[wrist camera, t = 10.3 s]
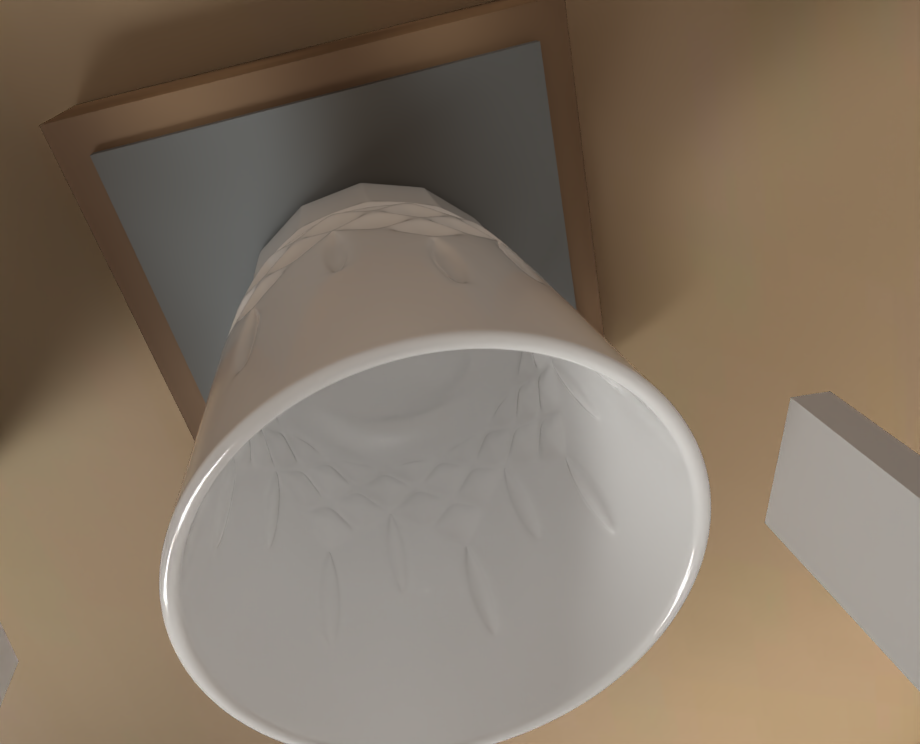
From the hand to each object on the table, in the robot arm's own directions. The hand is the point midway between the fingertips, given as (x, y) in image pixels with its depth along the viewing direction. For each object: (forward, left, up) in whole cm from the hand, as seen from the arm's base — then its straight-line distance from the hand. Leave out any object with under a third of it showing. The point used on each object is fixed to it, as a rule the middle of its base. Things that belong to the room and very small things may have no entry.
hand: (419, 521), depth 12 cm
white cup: (0, 0, -9) cm, 9 cm away
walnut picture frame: (0, 0, -12) cm, 12 cm away
